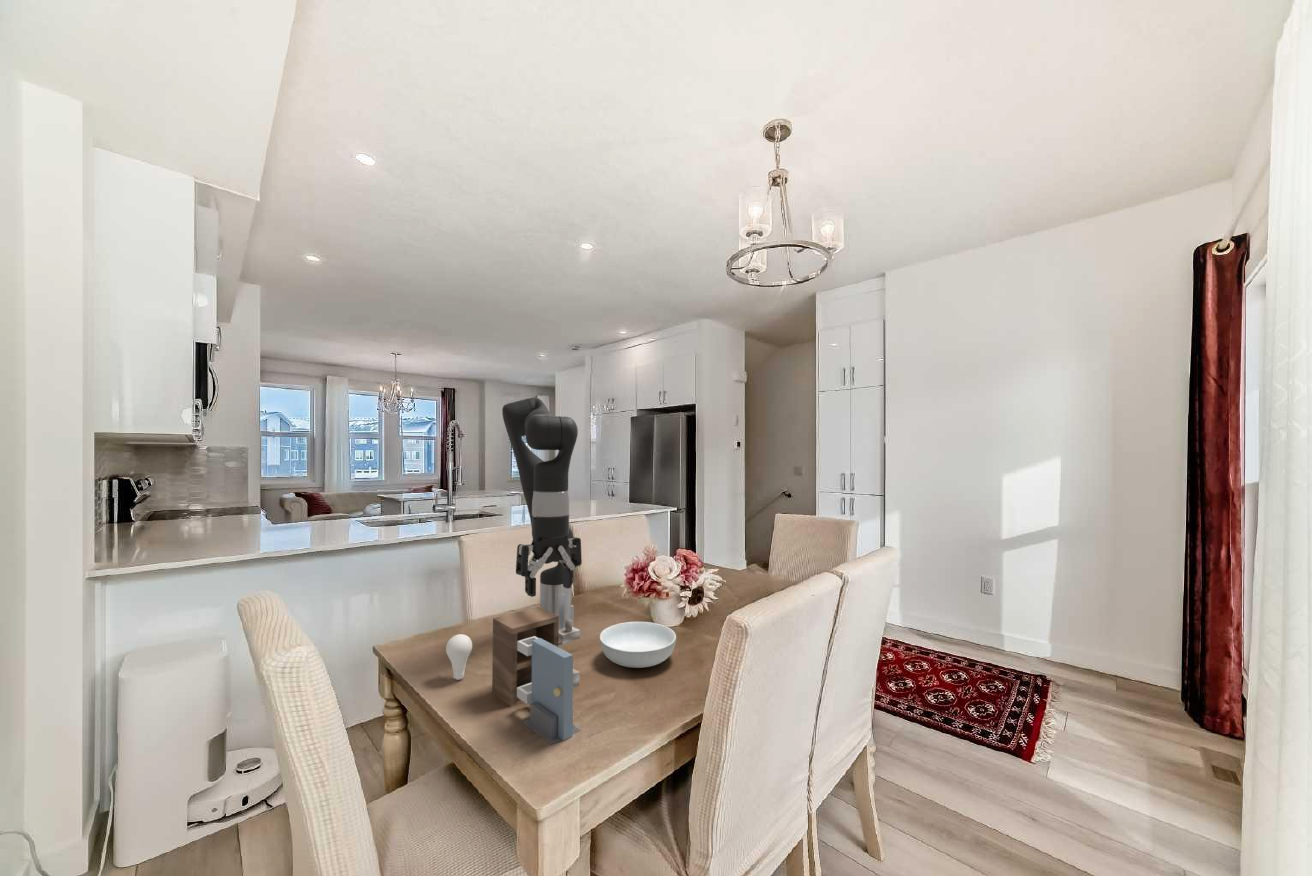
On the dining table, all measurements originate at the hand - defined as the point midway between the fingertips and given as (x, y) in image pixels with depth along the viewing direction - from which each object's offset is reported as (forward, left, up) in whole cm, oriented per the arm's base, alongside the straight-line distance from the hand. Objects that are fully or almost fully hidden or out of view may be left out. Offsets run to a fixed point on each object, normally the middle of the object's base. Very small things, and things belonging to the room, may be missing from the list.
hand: (549, 591), depth 105 cm
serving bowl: (-36, -12, -29) cm, 48 cm away
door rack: (0, +1, -28) cm, 28 cm away
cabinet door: (0, -1, -27) cm, 27 cm away
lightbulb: (+4, -34, -29) cm, 45 cm away
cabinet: (-7, -15, -28) cm, 33 cm away
